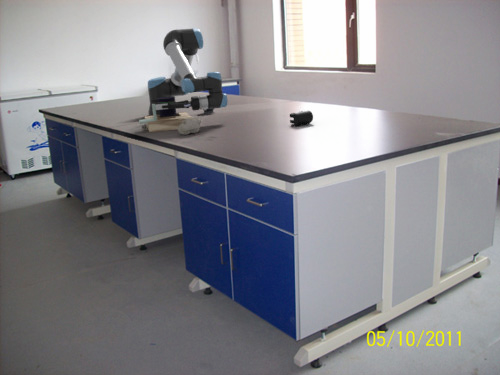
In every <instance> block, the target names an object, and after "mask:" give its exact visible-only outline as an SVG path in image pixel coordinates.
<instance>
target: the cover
mask: <svg viewBox="0 0 500 375" xmlns="http://www.w3.org/2000/svg"><path fill="white" fill-rule="evenodd" d="M152 109H153V117H154V118H152V119H145V118H144V119H138V122H139V124H145V123H148V122H151V121H157V117H156V109H155V104H152Z"/></svg>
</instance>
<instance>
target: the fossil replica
mask: <svg viewBox="0 0 500 375" xmlns="http://www.w3.org/2000/svg"><path fill="white" fill-rule="evenodd" d="M201 122H202V120H201V119H200V118H199V117H192V118H191V119H185V120H184V121H183V122H182V124H181V125H180V126H178V129H177V131H178V133H179V134H180V135H183V136H187V135H189V134H197V133H198V132H199V131H200V124H201Z"/></svg>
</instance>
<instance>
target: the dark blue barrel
mask: <svg viewBox="0 0 500 375" xmlns="http://www.w3.org/2000/svg"><path fill="white" fill-rule="evenodd" d="M158 102H159V103H158V104H168V103H172V102H177V101H176V96H169V97H160V98H158ZM177 113H178V112H177V109H169V110H168V109H162V110H160V118H163V117H172V116H176V117H177Z"/></svg>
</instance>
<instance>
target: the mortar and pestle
mask: <svg viewBox="0 0 500 375" xmlns="http://www.w3.org/2000/svg"><path fill="white" fill-rule="evenodd" d="M214 110H215V108H213V109H206V110H204V109H203V110H202V111H203V114H204V115H207V114H214V113H215V112H214Z"/></svg>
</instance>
